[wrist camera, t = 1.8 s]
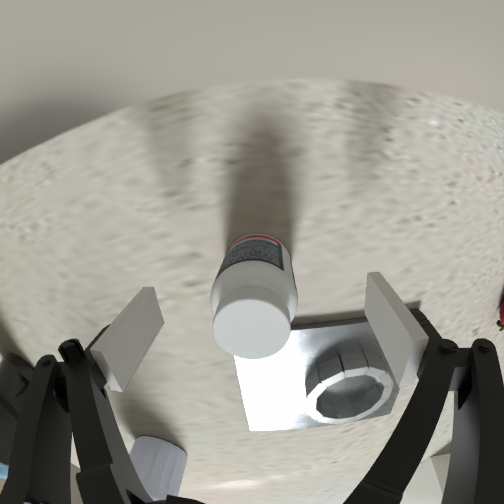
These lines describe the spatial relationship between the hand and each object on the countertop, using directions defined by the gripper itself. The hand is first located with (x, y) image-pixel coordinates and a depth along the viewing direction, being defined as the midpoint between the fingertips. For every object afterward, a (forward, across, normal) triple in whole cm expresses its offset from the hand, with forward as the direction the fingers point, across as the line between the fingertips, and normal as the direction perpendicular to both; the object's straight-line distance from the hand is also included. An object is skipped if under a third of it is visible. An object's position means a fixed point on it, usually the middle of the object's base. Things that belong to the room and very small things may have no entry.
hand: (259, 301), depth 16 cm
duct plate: (+6, +6, -14) cm, 16 cm away
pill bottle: (+6, 0, 0) cm, 6 cm away
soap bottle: (+6, -19, -32) cm, 38 cm away
